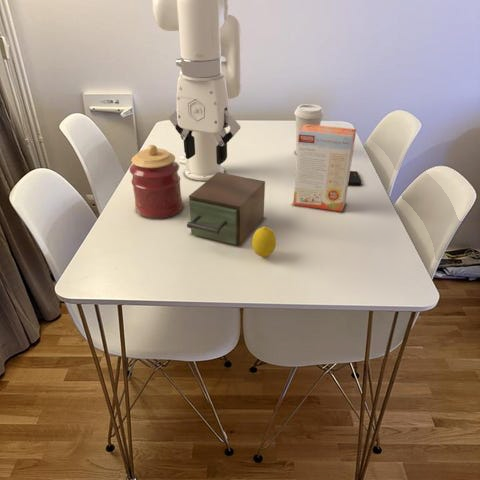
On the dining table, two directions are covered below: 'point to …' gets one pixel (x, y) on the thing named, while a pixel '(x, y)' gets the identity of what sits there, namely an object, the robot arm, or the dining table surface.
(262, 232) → the lemon
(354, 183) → the cell phone
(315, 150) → the cracker box
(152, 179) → the kitchen canister
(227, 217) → the drawer
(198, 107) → the robot arm
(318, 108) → the coffee cup
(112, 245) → the dining table surface
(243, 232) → the cabinet
